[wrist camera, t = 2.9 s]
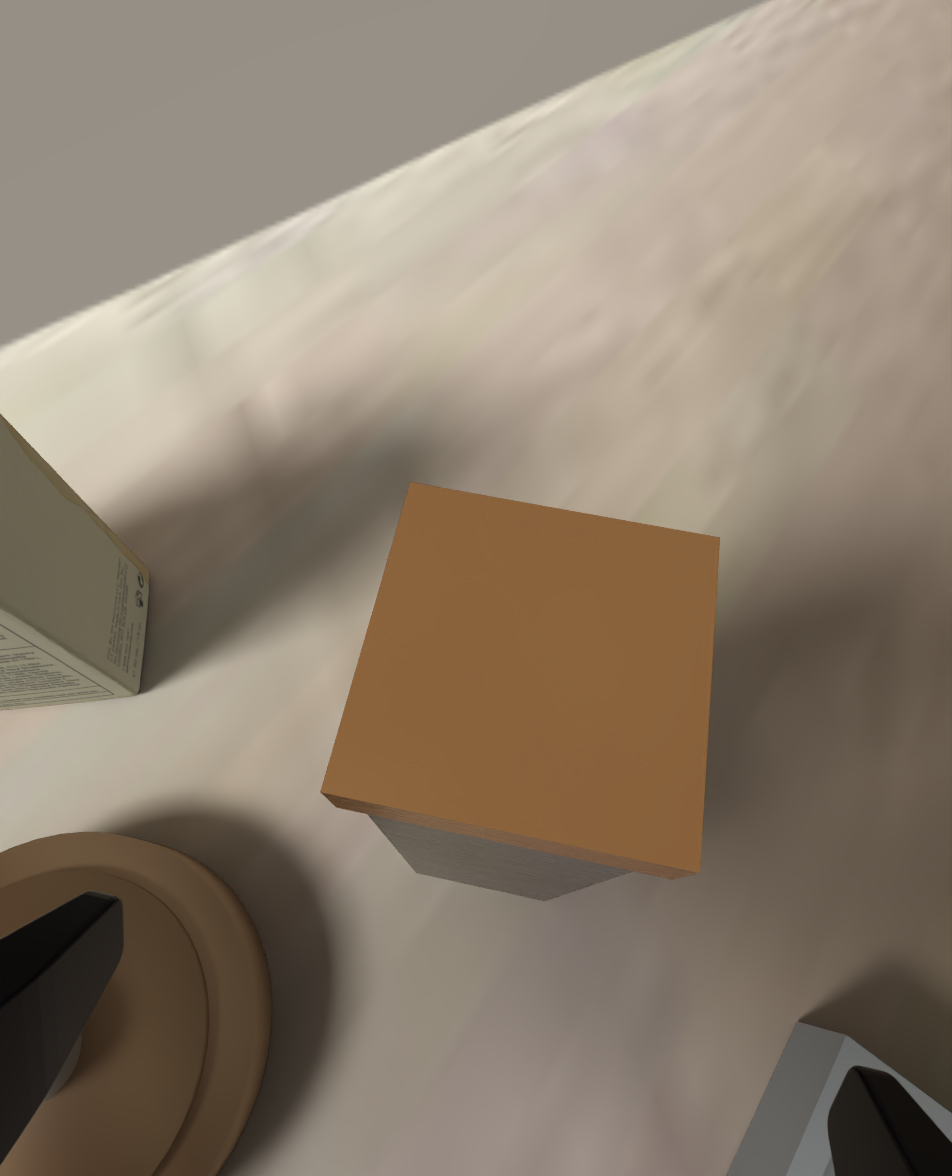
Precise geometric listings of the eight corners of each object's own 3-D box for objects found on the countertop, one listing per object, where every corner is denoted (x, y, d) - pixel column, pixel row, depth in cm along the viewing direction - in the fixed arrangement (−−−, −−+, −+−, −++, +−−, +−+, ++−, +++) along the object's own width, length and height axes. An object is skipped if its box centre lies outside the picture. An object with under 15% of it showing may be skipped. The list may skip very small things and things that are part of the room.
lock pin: (550, 908, 19) (700, 872, 7) (409, 877, 19) (320, 792, 7) (570, 765, 20) (719, 537, 8) (440, 738, 21) (410, 481, 9)
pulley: (58, 1398, 15) (-55, 1527, 11) (-195, 1085, 17) (-347, 1121, 14) (347, 991, 18) (322, 1004, 15) (103, 773, 20) (36, 744, 17)
